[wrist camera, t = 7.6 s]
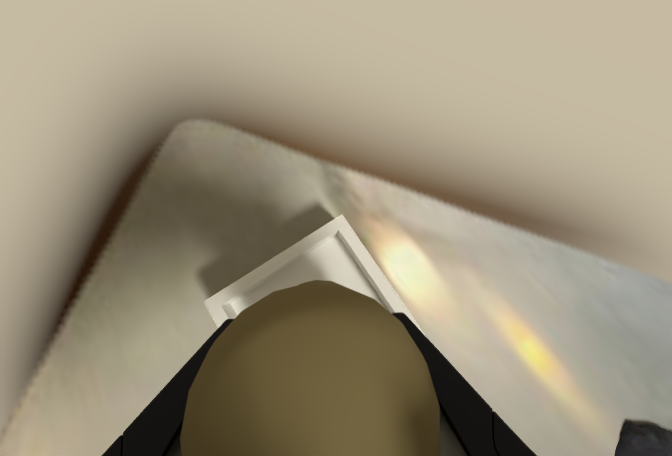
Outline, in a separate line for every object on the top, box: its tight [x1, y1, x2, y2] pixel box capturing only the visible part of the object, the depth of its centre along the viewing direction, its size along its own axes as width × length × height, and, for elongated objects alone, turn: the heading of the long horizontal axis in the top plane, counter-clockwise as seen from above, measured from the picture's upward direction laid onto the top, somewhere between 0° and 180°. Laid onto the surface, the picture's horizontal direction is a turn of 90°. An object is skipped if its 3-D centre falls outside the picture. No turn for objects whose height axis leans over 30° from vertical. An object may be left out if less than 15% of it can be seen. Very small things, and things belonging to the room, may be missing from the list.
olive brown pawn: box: [180, 280, 440, 456], centre depth 9 cm, size 6×6×11 cm
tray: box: [203, 214, 426, 336], centre depth 17 cm, size 11×11×2 cm
